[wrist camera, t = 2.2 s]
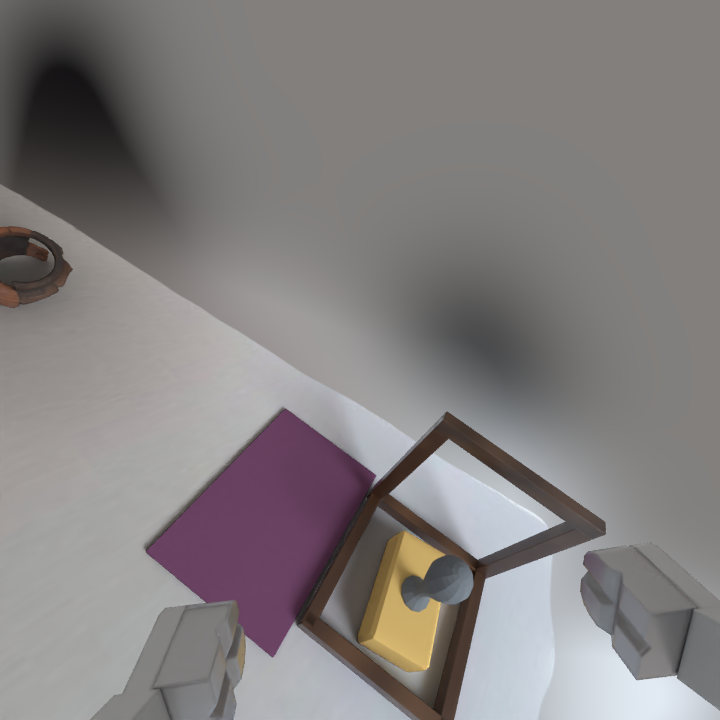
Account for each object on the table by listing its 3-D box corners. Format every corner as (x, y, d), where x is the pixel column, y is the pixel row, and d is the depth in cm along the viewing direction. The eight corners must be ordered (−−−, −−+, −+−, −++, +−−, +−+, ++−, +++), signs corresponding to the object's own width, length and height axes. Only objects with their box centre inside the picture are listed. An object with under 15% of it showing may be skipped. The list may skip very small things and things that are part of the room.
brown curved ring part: (76, 261, 50) (80, 234, 44) (60, 326, 48) (62, 307, 41) (-52, 225, 43) (-70, 187, 36) (-79, 300, 40) (-103, 273, 34)
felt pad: (145, 552, 32) (145, 551, 32) (284, 409, 46) (285, 408, 46) (272, 657, 30) (273, 657, 30) (375, 476, 45) (376, 475, 45)
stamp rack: (294, 624, 32) (368, 583, 20) (370, 489, 43) (447, 410, 31) (440, 742, 31) (613, 773, 19) (480, 571, 42) (605, 521, 30)
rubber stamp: (409, 674, 33) (489, 667, 25) (354, 641, 33) (415, 623, 25) (433, 565, 40) (500, 532, 32) (387, 538, 40) (443, 498, 32)
